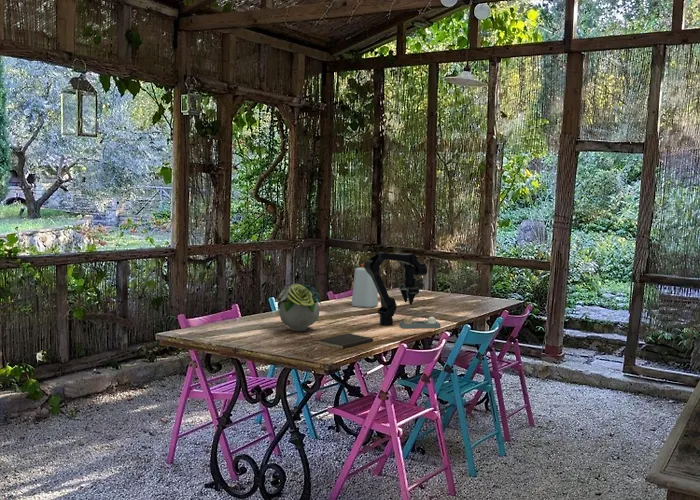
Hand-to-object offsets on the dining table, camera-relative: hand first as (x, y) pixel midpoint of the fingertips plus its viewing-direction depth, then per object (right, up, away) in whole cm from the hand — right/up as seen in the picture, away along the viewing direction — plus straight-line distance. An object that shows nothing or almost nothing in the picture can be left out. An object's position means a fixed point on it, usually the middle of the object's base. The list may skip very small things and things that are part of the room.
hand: (408, 303), depth 361 cm
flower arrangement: (-60, -12, -22) cm, 65 cm away
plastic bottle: (-23, -7, +62) cm, 67 cm away
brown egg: (-1, -12, -12) cm, 17 cm away
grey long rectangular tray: (+5, -13, -10) cm, 17 cm away
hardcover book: (-35, -15, -50) cm, 63 cm away
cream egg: (+12, -12, -9) cm, 19 cm away
